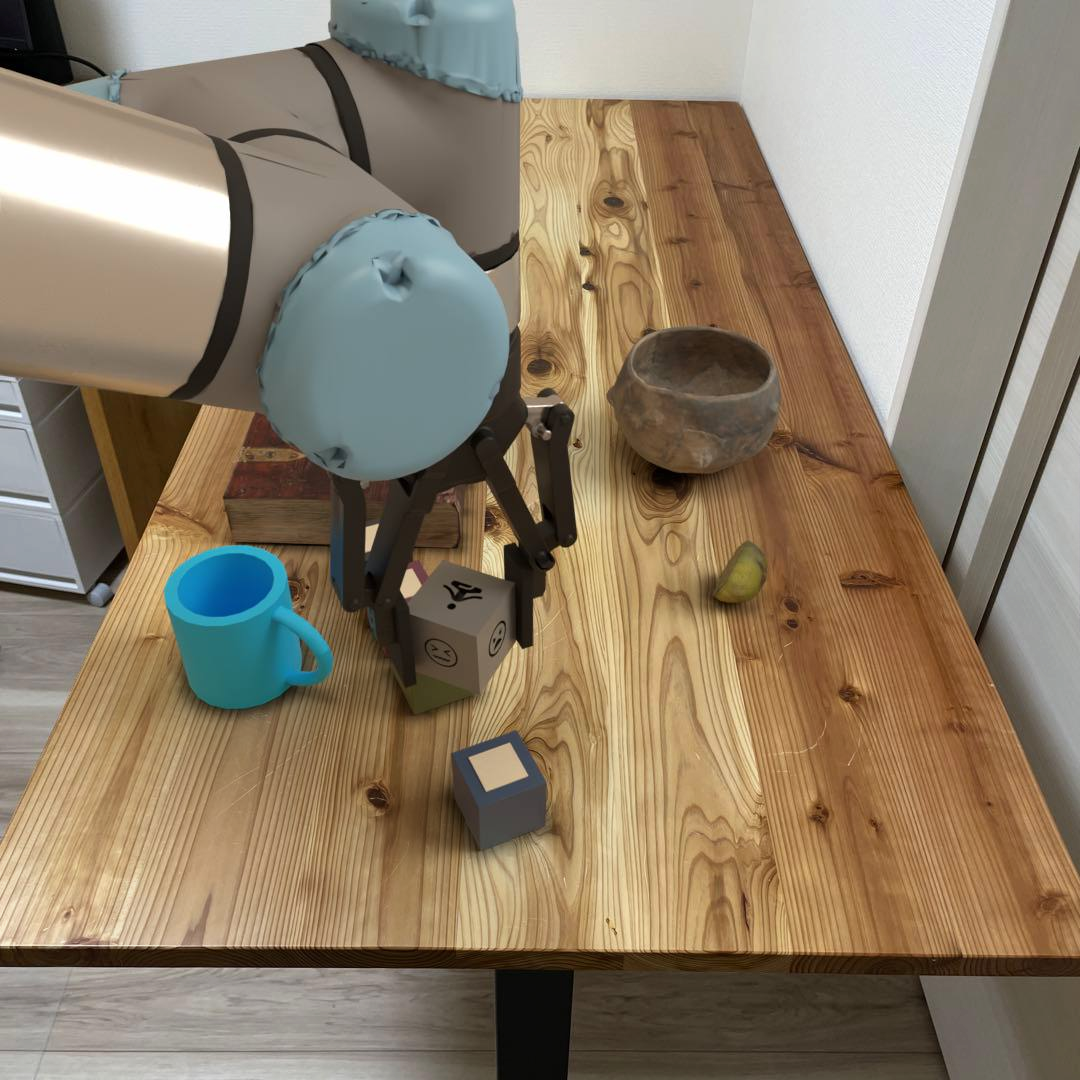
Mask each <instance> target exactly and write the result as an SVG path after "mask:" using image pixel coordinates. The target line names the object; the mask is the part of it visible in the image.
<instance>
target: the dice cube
mask: <svg viewBox="0 0 1080 1080" xmlns="http://www.w3.org/2000/svg"><path fill="white" fill-rule="evenodd" d="M407 604H408V606H409V610H410V620H411V631H412V641H413V651H414V661H415V671H416V672H418V673H421V674H424V675H427V676H429V677H432V678H435V679H438V680H440V681H443V682H446V683H449V684H451V685H454V686H457V687H460V688H462V689H465V690H468V691H471V692H473V694H476V695H479V696H480V695H481V694H482V693H483V691H484V690H485V688H486V687H487V686H488V684H489V682H490V681H491V680H492V678H493V677H494V675H495V673H496V672H497V670H498V669H499V668H500V666H501V664H502V663H503V662H504V660H505V658H506V657H507V656H508V654H509V653H510V651H511V650H512V648H513V647H514V645H515V644H516V642H517V640H516V600H515V583H514V582H510V581H507V580H504V578H501V577H498V576H495V575H492V574H488V573H485V572H482V571H480V570H476V569H473V568H470V567H466V566H463V565H460V564H457V563H454V562H451V561H447V560H444V559H442V560H441V561H440V562H439V563H438V565H437V566H436V568H435V569H434V570H433V571H432V572H431V574H430V575H428V579H427V580H426V581H425V582H424V584H423V585H422V586H421V587H420V589H419V590H418V591H417V592H416V594H415V595H414V596H413V597H412V598H411V600H410V601H409V602H408V603H407Z"/></svg>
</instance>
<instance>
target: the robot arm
mask: <svg viewBox="0 0 1080 1080" xmlns="http://www.w3.org/2000/svg"><path fill="white" fill-rule="evenodd" d="M329 2H330V19H329V21H328V22H327V28H328V29H327V30H328V33H329V38H326V39H323V40H318V41H313V42H307V43H306V44H305V45H304V46H297V47H296V46H295V47H292V48H286V49H279V50H278V49H277V50H272V51H264V52H258V53H252V54H246V55H238V56H233V57H225V58H218V59H212V60H205V61H198V62H191V63H184V64H178V65H177V64H176V65H171V66H164V67H157V68H152V69H151V68H150V69H143V70H137V71H132V70H127V68H121V69H116V70H114V71H113V72H112V73H111V74H109V75H105V76H102V77H101V76H100V77H98V78H97V77H96V78H93V79H89V80H84V81H80V82H77V83H72V84H68V85H64V86H62V85H58V84H55V83H52V82H49V81H45V80H42V79H38V78H35V77H32V76H30V75H26V74H24V73H23V74H22V73H21V72H20V73H19V72H16V71H14V70H11V69H6V68H3V67H0V377H7V378H15V379H23V380H30V381H37V382H44V383H51V384H57V385H58V384H59V385H67V386H72V387H73V386H74V387H80V388H81V387H82V388H90V389H95V390H97V389H98V390H105V391H111V392H119V393H125V394H134V395H140V396H149V397H156V398H161V399H162V398H163V399H170V400H177V401H181V402H187V403H190V404H191V403H192V404H197V405H203V406H208V407H215V408H221V409H222V408H223V409H231V410H237V411H246V412H253V413H255V412H257V413H260V414H263V415H266V418H267V420H269V421H270V423H271V426H272V428H273V430H274V431H275V433H276V434H277V435H278V436H279V437H280V438H281V439H282V440H283V441H285V442H286V443H288V444H289V445H292V446H294V447H297V448H299V449H300V450H301V451H302V452H303V453H304V454H305V455H306V457H307V458H308V459H309V460H310V461H312V462H314V463H315V464H317V465H319V466H320V467H322V468H324V469H326V472H327V474H328V476H329V478H330V544H329V548H330V549H329V556H330V557H329V558H330V559H329V563H330V564H329V567H330V568H329V580H330V584H331V586H332V587H333V590H334V592H335V594H336V596H337V598H338V600H339V603H340V605H341V606H342V609H343V611H344V612H345V613H349V614H353V613H356V612H359V611H360V610H361V609H362V608H366V607H368V614H369V621H368V623H369V622H370V624H369V628H370V629H371V631H372V633H373V635H374V638H375V639H376V641H377V644H379V646H380V648H381V647H384V646H387V645H389V650H390V657H389V658H390V661H391V663H392V662H393V664H394V667H395V669H396V671H397V673H398V675H399V677H400V679H401V681H402V683H403V685H404V687H405V688H407V687H410V686H413V685H416V684H417V681H416V671H415V661H414V651H413V641H412V631H411V620H410V610H409V606H408V604H407V602H406V600H405V598H404V596H403V595H402V593H401V591H400V588H401V585H402V582H403V579H404V576H405V573H406V570H407V567H408V564H409V561H410V558H411V555H412V553H413V552H414V549H415V547H414V546H415V543H416V540H417V537H418V534H419V531H420V528H421V525H422V522H423V519H424V516H425V515H426V514H430V513H431V511H432V508H433V505H434V502H435V499H436V496H437V494H438V493H442V492H446V491H448V490H450V489H452V488H453V487H455V486H457V485H463V484H466V485H475V484H478V483H482V482H485V483H486V485H487V487H488V488H489V491H490V492H491V494H492V496H493V498H494V500H495V502H496V503H497V506H498V507H499V509H500V511H501V513H502V515H503V516H504V519H505V521H506V523H507V525H508V527H509V528H510V530H511V532H512V534H513V536H514V538H515V539H516V541H517V542H518V545H517V543H516V542H515V541H514V542H511V543H508V544H504V545H503V579H504V580H507V581H510V582H514V583H515V600H516V640H517V641H516V642H517V643H518V646H519V647H520V648H521V650H525V649H528V648H531V647H534V600H535V599H537V598H541V597H543V596H544V594H545V592H546V589H547V572H549V571H551V570H552V569H554V567H555V565H556V561H557V560H556V558H555V556H553V554H552V551H554V550H555V549H557V548H559V547H561V548H563V549H564V548H565V549H567V548H570V547H572V546H573V545H575V543H576V542H577V541H578V528H577V520H576V518H577V517H576V509H575V499H574V492H573V483H572V473H571V465H570V455H569V454H570V453H569V442H570V438H571V434H572V431H573V427H574V424H575V419H576V415H575V413H574V411H573V410H572V409H571V408H570V406H569V405H568V404H567V403H566V401H564V399H563V398H562V397H561V396H560V395H559V394H558V393H557V392H556V390H555V389H554V388H551V387H545V388H543V389H542V390H540V391H539V392H538V393H537V395H536V397H522V395H521V388H522V333H521V329H520V327H519V324H520V323H521V317H522V297H521V296H522V286H521V283H522V282H521V281H522V280H521V278H522V277H521V242H520V226H521V103H522V102H523V101H524V88H523V86H522V76H521V62H520V61H521V60H520V43H519V42H520V41H519V40H520V39H519V34H518V33H519V32H518V30H517V16H516V15H517V13H516V7H515V2H514V0H330V1H329ZM524 427H526V429H527V430H528V432H530V433H529V434H530V443H531V449H532V457H533V464H534V471H535V479H536V485H537V494H538V500H539V507H540V514H541V516H540V517H541V520H540V521H539V522H537V523H536V521H535V519H534V518H533V517H534V516H533V515H532V513H531V511H530V510H529V507H528V505H527V504H526V501H525V500H524V497H523V495H522V493H521V491H520V490H519V488H518V485H517V481H516V479H515V477H514V475H513V472H512V471H511V469H510V466H509V465H508V463H507V461H506V459H505V455H506V454H507V452H508V451H509V449H510V448H511V446H512V445H513V443H514V442H515V440H516V439H517V437H518V435H519V434H520V433H521V431H522V429H523V428H524ZM382 480H389V484H390V490H389V493H388V496H387V500H386V503H385V506H384V509H383V512H382V516H381V519H380V522H379V525H378V528H377V532H376V535H375V538H374V541H373V544H372V548H371V551H370V554H369V557H368V560H367V564H366V567H365V541H366V500H365V495H364V492H363V489H365V488H367V487H369V485H370V481H382Z"/></svg>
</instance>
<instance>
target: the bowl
mask: <svg viewBox="0 0 1080 1080" xmlns="http://www.w3.org/2000/svg"><path fill="white" fill-rule="evenodd" d="M605 398H606V401H607V402H608V404H609V405H610V406H611V407H612V408H613V412H614V418H615V421H616V423H617V424H618V428H619V429H620V431H621V433H622V435H623V436H624V438H625V440H626V442H627V443H628V444H629V446H630V447H631V448H632V449H633V450H634V451H635V452H636V454H637V455H638V456H641V457H642V458H643V459H644V460H645V461H647V462H649V463H651V464H652V465H655V466H657V467H660V468H661V469H665V470H668V471H670V472H673V473H678V474H714V473H717V472H719V471H720V472H721V471H722V470H724V469H727V468H729V467H730V468H731V467H733V466H736V465H739V464H741V463H743V462H746V461H747V460H749V459H751V458H753V457H754V456H756V455H757V454H758V453H760V452H761V451H762V450H764V448H765V447H766V446H767V445H768V443H769V441H770V440H771V438H772V436H773V433H774V432H775V429H776V426H777V424H778V421H779V417H780V412H781V404H782V403H781V401H782V394H781V384H780V376H779V373H778V369H777V366H776V364H775V361H774V359H773V357H772V356H771V353H769V352H768V350H767V349H766V348H764V347H763V346H762V345H761V344H760V343H758V342H757V341H756V340H754V339H752V338H751V337H748V336H746V335H745V334H741V333H739V332H736V331H732V330H728V329H724V328H718V327H713V326H703V325H702V326H698V325H697V326H696V325H682V326H681V325H680V326H673V327H667V328H663V329H659V330H655V331H652V332H650V333H648V334H646V335H644V336H643V337H641V338H640V339H638V340H637V341H636V342H635V343H634V344H633V345H632V347H631V349H630V350H629V352H628V354H627V356H626V357H625V359H624V361H623V364H622V366H621V368H620V370H619V373H618V375H617V377H616V379H615V382H614V384H613V385H612V386H611V387H610V388H609V389H608V390H607V392H606V394H605Z"/></svg>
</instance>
